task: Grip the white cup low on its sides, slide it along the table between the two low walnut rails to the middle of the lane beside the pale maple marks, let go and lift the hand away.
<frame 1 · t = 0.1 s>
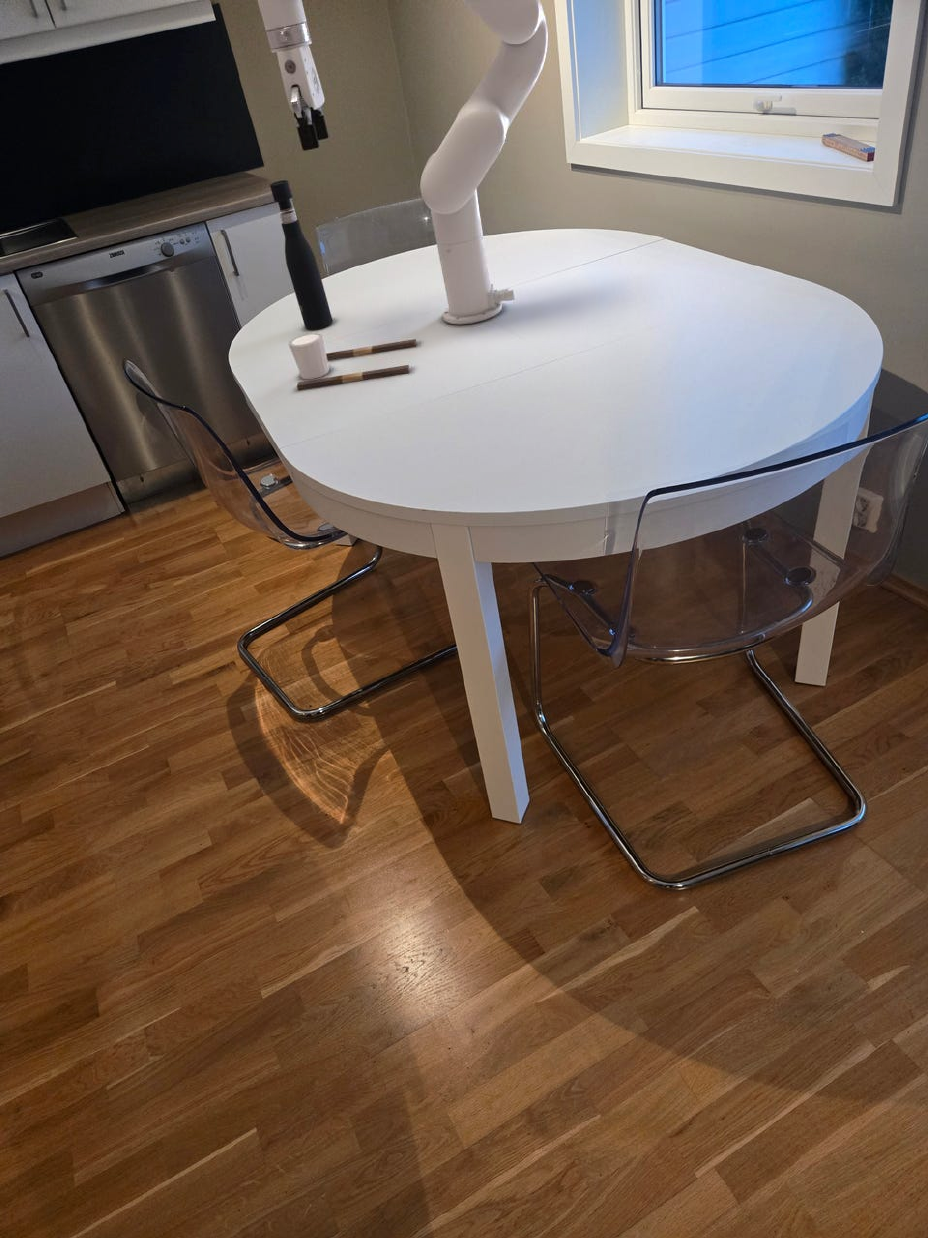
hand: (316, 143, 167), 37 cm above the table, tool pointing down, fingers open, 9 cm apart
wine bottle: (319, 325, 199), on the table
white cup: (315, 374, 174), on the table
guide rails: (358, 366, 173), on the table
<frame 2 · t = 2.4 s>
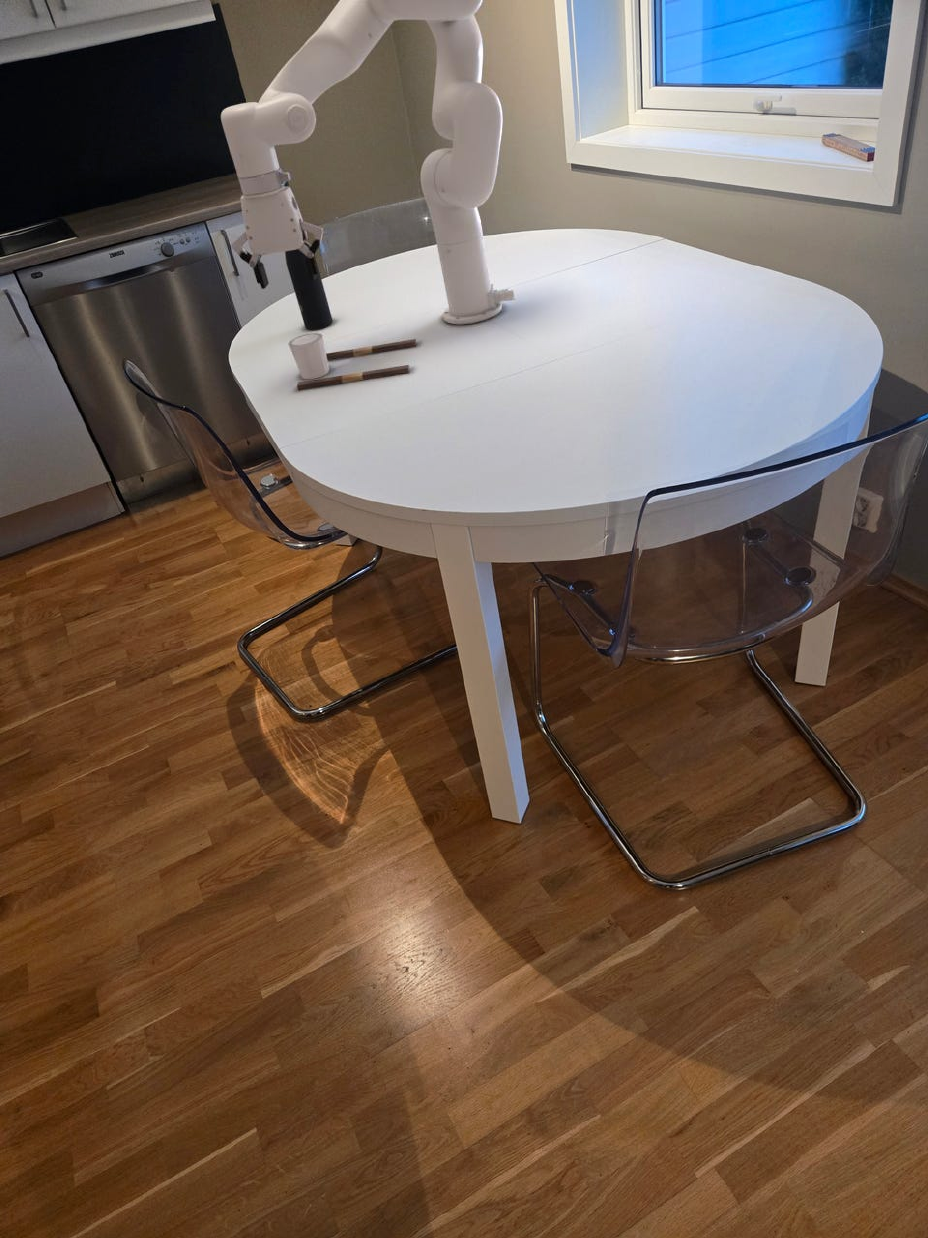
hand: (289, 282, 164), 18 cm above the table, tool pointing down, fingers open, 9 cm apart
nothing on the table moved.
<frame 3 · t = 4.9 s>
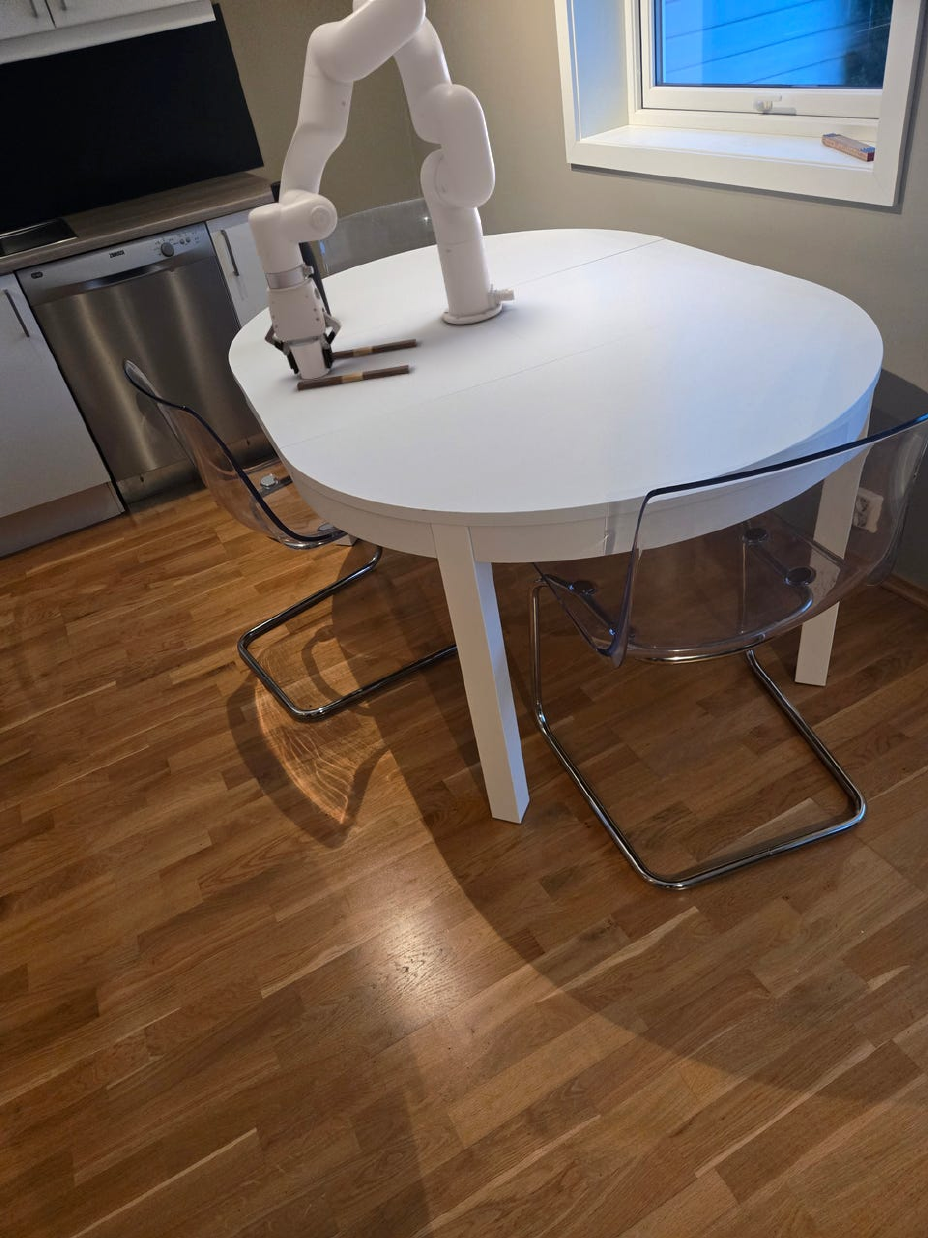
hand: (313, 368, 174), 1 cm above the table, tool pointing down, fingers closed on white cup, 6 cm apart
white cup: (315, 374, 174), on the table, touching gripper
everything else where it was.
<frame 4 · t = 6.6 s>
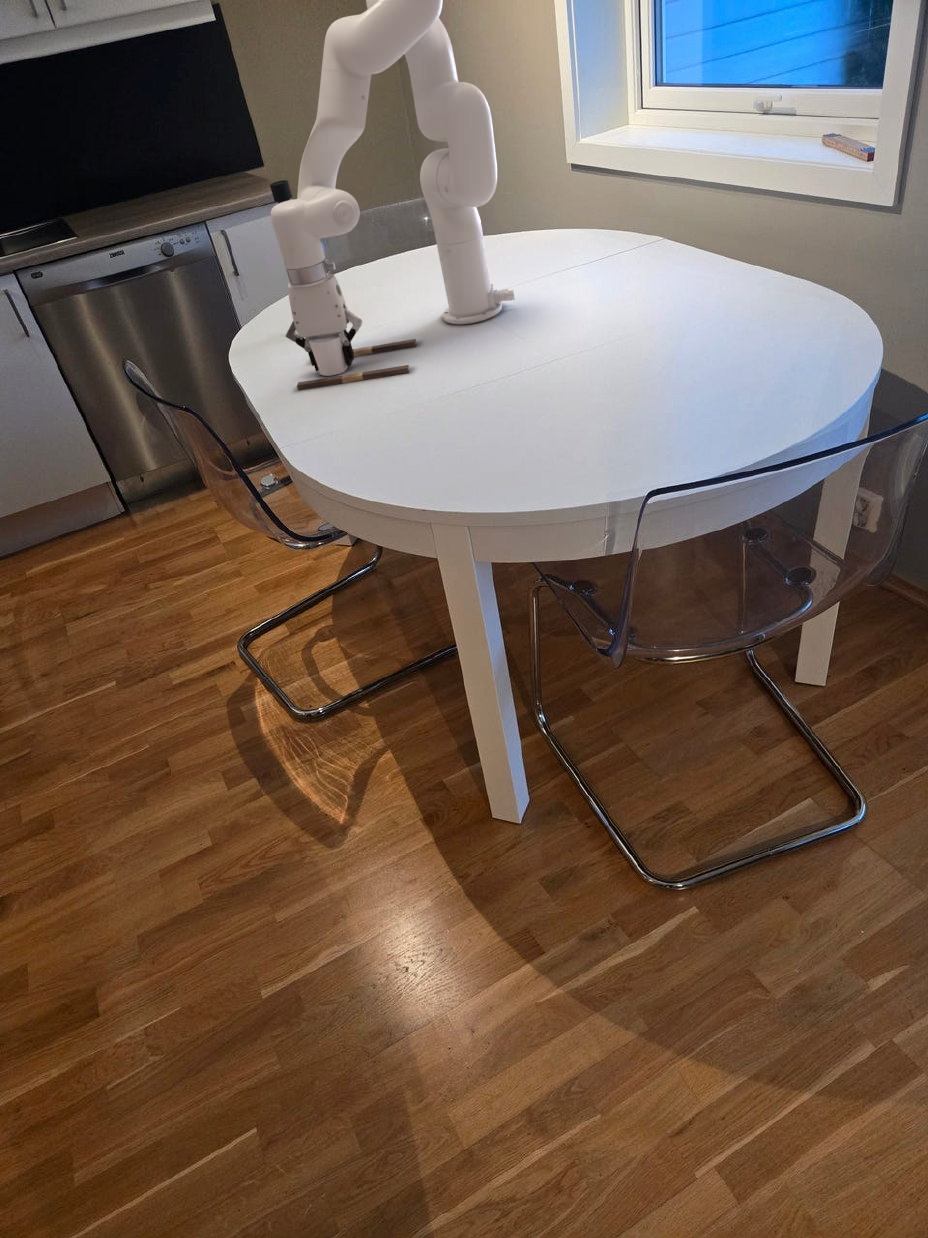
hand: (334, 365, 173), 1 cm above the table, tool pointing down, fingers closed on white cup, 5 cm apart
white cup: (333, 370, 174), on the table, touching gripper
everything else where it was.
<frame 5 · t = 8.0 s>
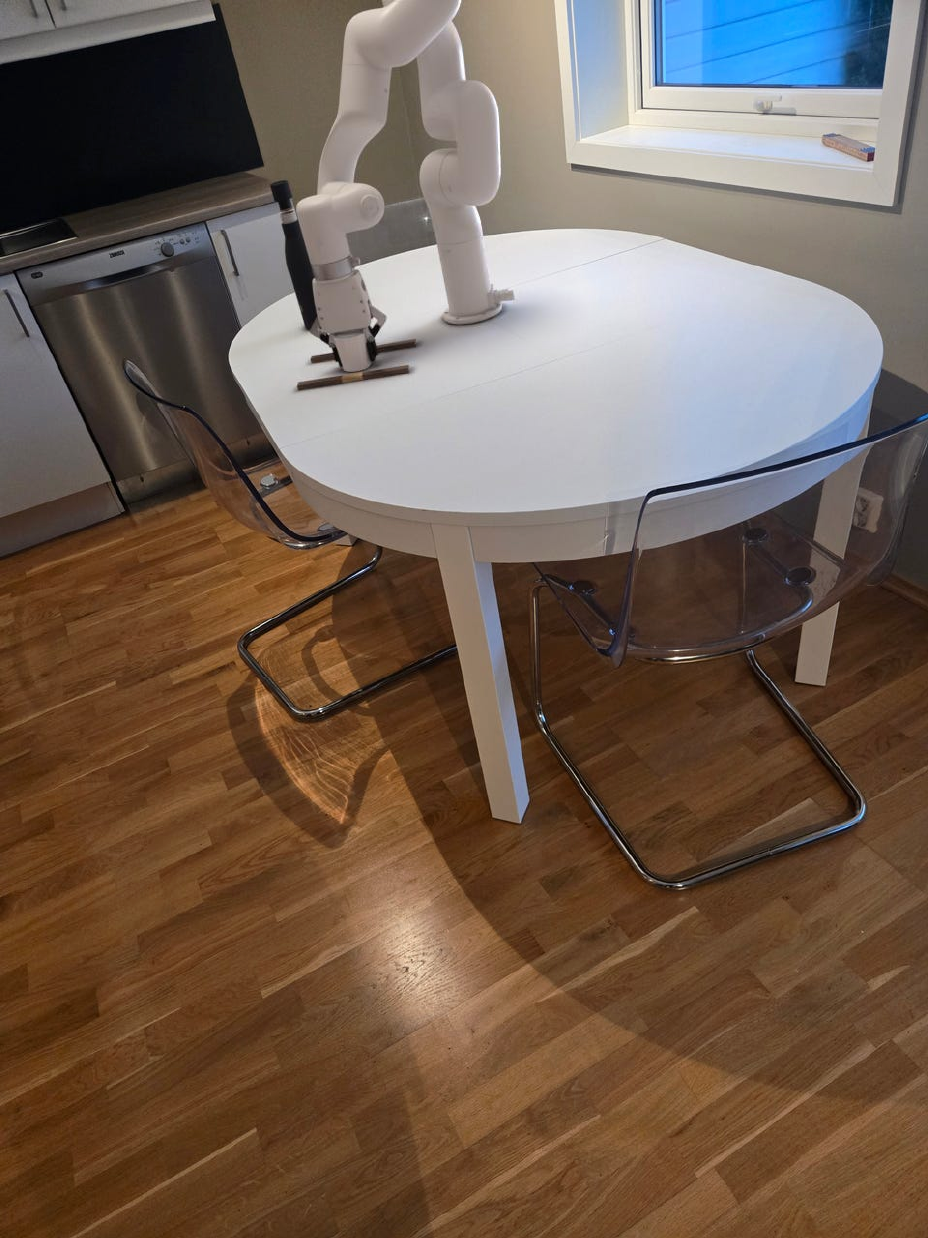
hand: (358, 361, 172), 1 cm above the table, tool pointing down, fingers closed on white cup, 5 cm apart
white cup: (357, 366, 173), on the table, touching gripper
everything else where it was.
when the fingers open (1 cm above the table, at t = 8.6 s): white cup stays where it is, on the table.
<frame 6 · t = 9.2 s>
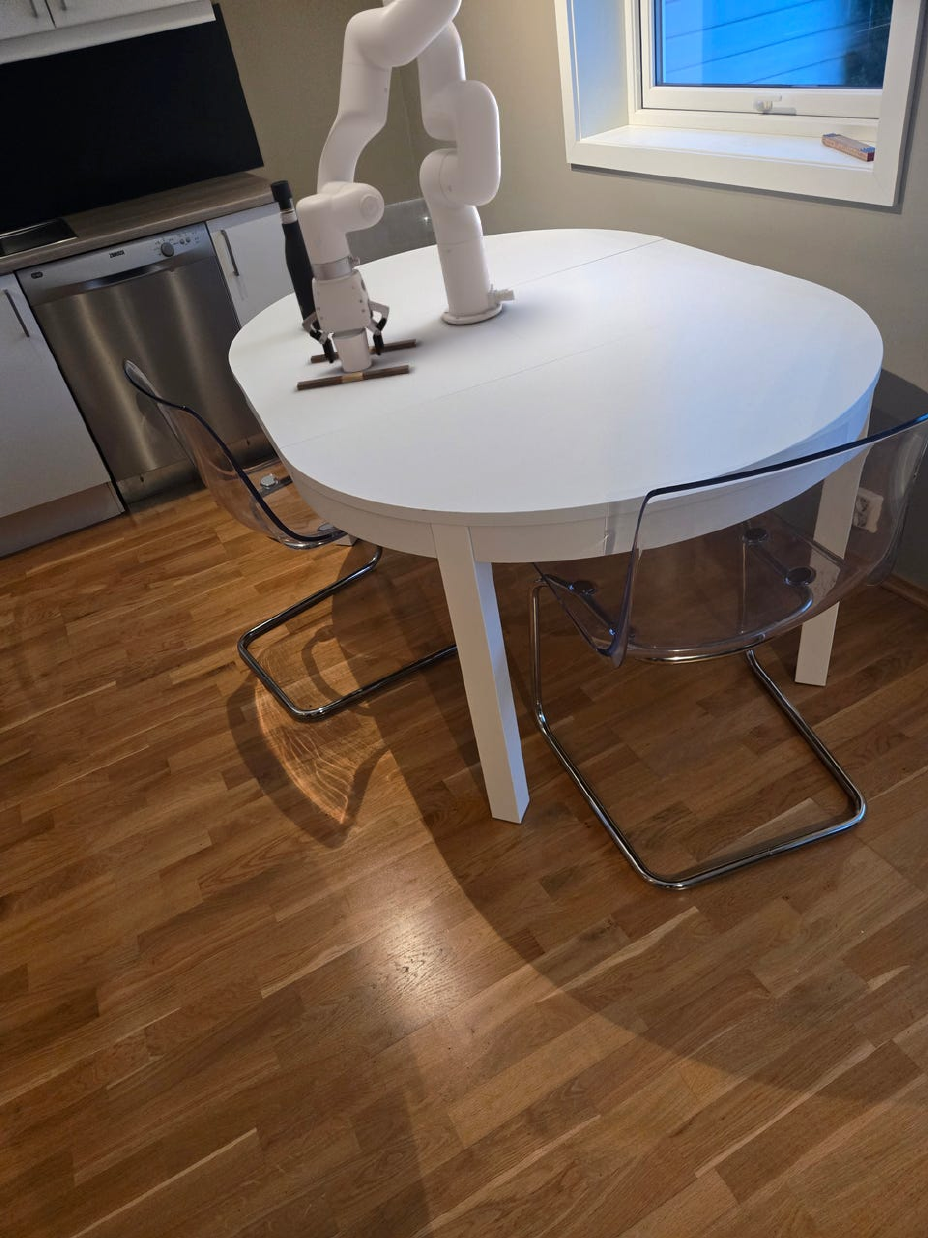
hand: (356, 357, 172), 2 cm above the table, tool pointing down, fingers open, 9 cm apart
white cup: (358, 367, 173), on the table
everything else where it was.
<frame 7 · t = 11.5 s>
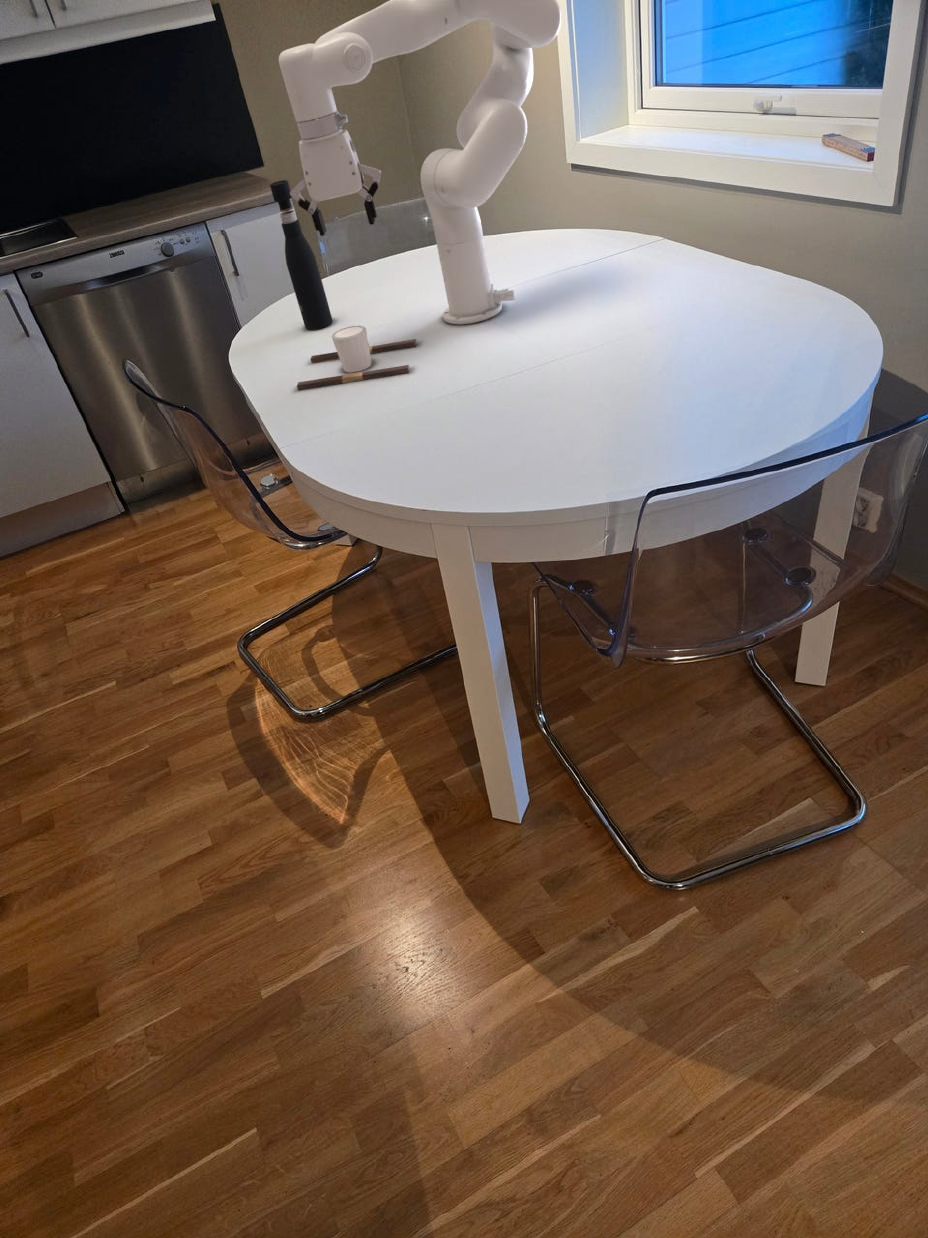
hand: (348, 228, 165), 24 cm above the table, tool pointing down, fingers open, 9 cm apart
nothing on the table moved.
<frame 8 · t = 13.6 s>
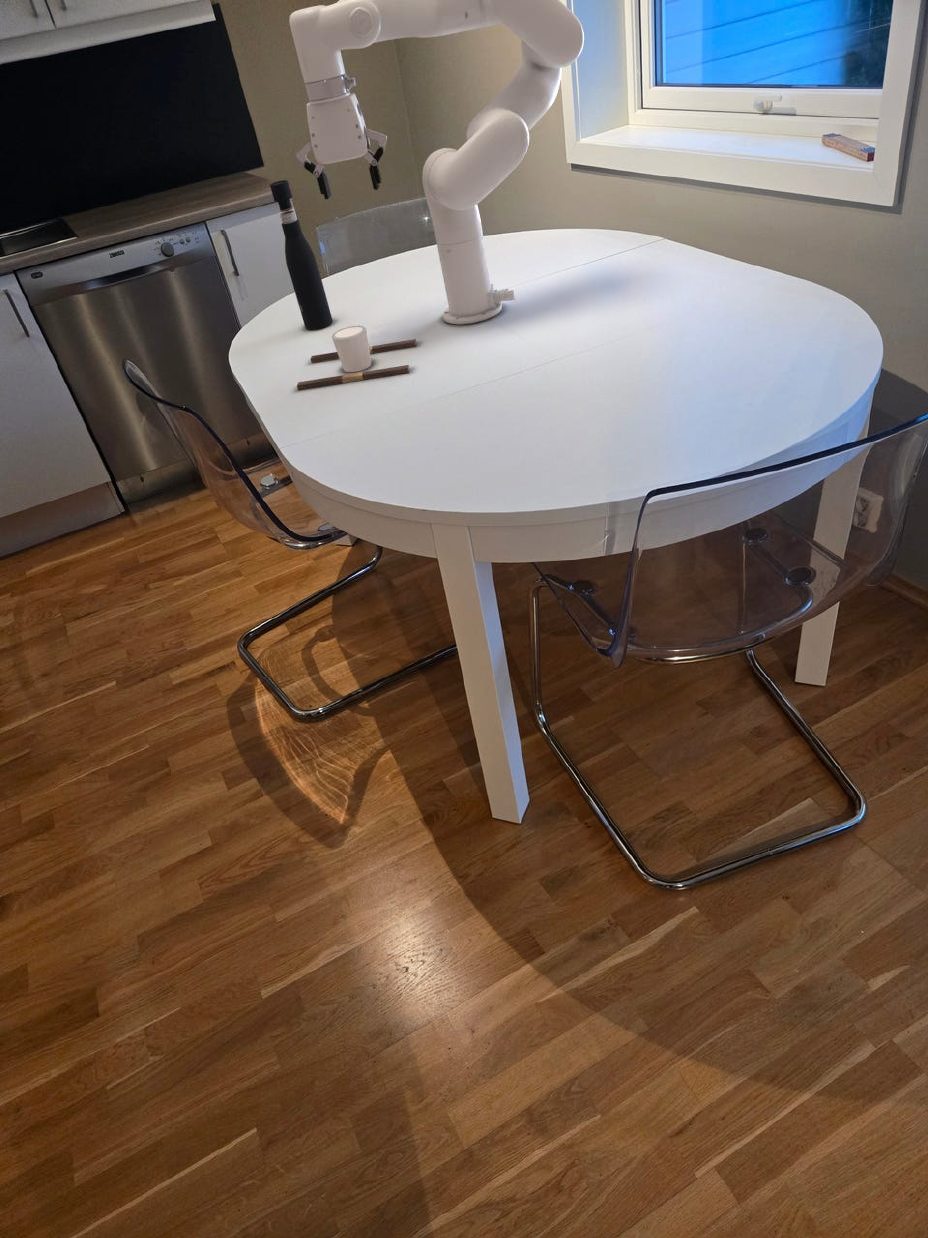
hand: (352, 192, 166), 28 cm above the table, tool pointing down, fingers open, 9 cm apart
nothing on the table moved.
at the end: white cup 0.2 cm off-centre on the guide rails, point 0.0 cm above the guide rails's base; white cup tilted 0°; the gripper is holding nothing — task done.
